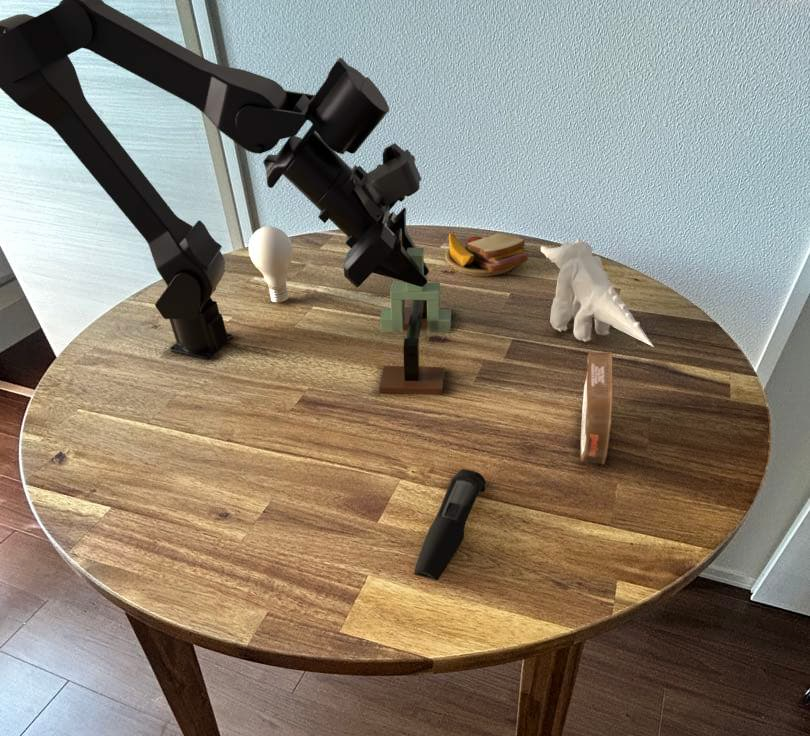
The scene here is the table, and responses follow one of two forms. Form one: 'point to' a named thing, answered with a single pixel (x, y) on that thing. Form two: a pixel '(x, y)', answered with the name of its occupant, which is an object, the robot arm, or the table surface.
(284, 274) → the lightbulb
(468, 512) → the electric trimmer
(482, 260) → the toy sandwich meal
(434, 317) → the green stepped block figure
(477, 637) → the table surface
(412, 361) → the toy hurdle
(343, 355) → the table surface
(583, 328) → the toy dinosaur
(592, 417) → the brown product box
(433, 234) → the table surface
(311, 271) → the table surface
